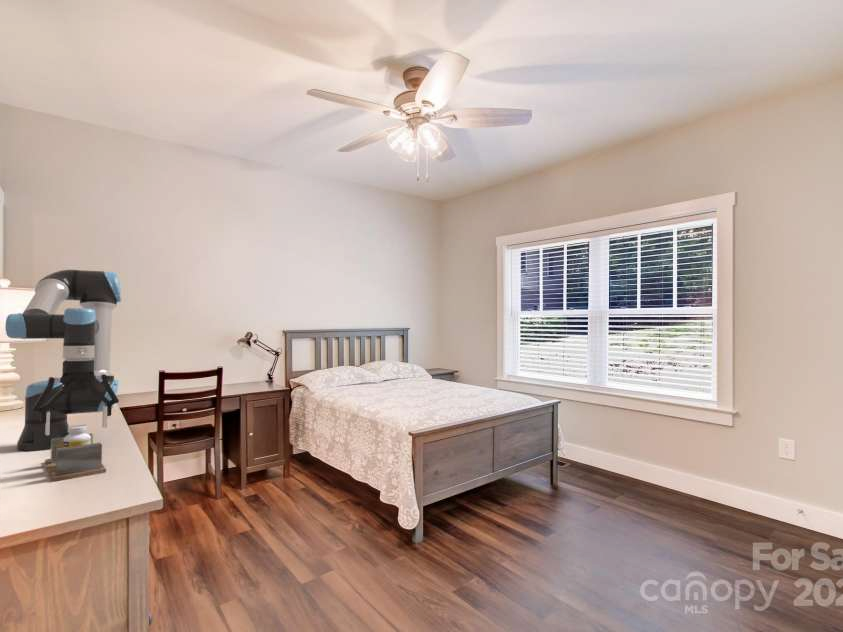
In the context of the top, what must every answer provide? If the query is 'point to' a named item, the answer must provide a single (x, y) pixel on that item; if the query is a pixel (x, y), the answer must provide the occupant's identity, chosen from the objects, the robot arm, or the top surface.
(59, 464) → the vise bed
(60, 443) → the sliding jaw
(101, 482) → the top surface
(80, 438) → the pill bottle
